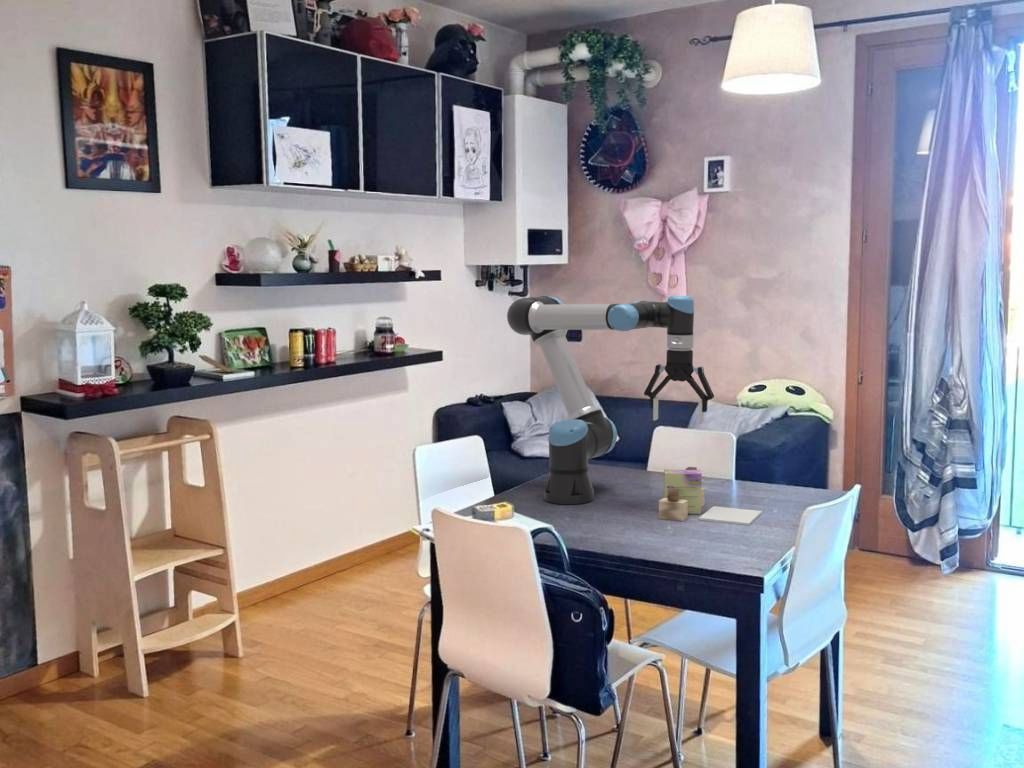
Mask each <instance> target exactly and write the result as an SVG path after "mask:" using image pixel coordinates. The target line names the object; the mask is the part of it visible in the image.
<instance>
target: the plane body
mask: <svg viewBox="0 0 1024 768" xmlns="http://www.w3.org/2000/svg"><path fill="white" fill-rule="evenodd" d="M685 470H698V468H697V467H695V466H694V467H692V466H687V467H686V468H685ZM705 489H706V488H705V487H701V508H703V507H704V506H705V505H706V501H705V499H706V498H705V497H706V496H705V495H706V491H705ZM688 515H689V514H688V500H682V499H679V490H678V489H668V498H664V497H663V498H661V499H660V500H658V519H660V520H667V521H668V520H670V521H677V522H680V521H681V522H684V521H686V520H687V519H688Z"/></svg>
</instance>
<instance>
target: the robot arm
mask: <svg viewBox="0 0 1024 768" xmlns="http://www.w3.org/2000/svg"><path fill="white" fill-rule="evenodd" d="M506 318H507V324H508V325H509V328H510V329H512V331H513V332H515V333H516V334H519V335H522V336H523V335H524V336H530V337H531V340H532V341H533V344H534V345H536V346H539V347H540V349H541V351H542V354H543V357H544V359H545V361H546V364H547V366H548V368H549V371H550V373H551V376H552V378H553V382H554V383H555V385H556V389H557V390H558V392H559V395H560V397H561V400H562V403H563V405H564V407H565V410H566V412H567V415H568V418H567V419H565V420H559V421H556V422H554V423H552V424H551V426H550V427H549V429H548V431H549V432H548V438H547V440H548V453H549V454H548V461H549V463H548V465H549V466H548V467H549V475H548V478H547V482H546V484H545V488H544V491H543V492H544V493H543V498H544V501H545V502H548V503H551V504H556V505H579V504H586V503H590V502H593V500H594V499H595V490H594V488H593V484H592V481H591V478H590V474H589V460H590V459H594V458H598V457H599V458H600V457H602V456H604V455H606V454H607V453H608V454H609V452H611V451H612V450H613V448H615V445H616V442H617V439H618V432H617V428H616V425H615V424H614V422H613V421H612V420H611V419H609V418H608V417H605V416H604V414H603V411H602V409H601V408H599V407H597V406H595V405H594V402H593V399H592V397H591V395H590V392H589V390H588V388H587V385H586V382H585V380H584V377H583V376H582V374H581V373H582V372H581V371H580V369H579V366H578V363H577V361H576V358H575V355H574V354H573V352H572V349H571V347H570V344H569V342H568V339H567V337H566V335H567V332H568V331H571V330H572V331H574V330H575V331H577V330H578V331H580V330H582V331H583V330H585V331H591V330H592V331H593V330H594V331H606V330H609V331H613V330H614V331H619V332H628V331H631V330H639V329H648V328H659V329H660V328H661V329H662V328H664V329H666V332H667V333H666V347H667V348H668V349H667V350H666V363H665V365H662V364H661V363H660V364H659V363H658V364H656V365H655V369H654V373H653V375H652V377H651V379H650V380H649V382H648V384H647V387H646V388H645V390H644V391H643V395H644V396H647V397H649V401H650V402H649V407H650V409H653V410H652V421H657V420H658V419H659V397H658V396H657V395H658V394H659V393H660V392H661V391H662V390H663V388H665V386H666V385H667V384H668V383H669V382H670V381H673V382H677V381H679V382H681V383H682V382H687V384H689V385H690V386H691V387H692V389H693V390H694V392H695V393H696V394H697V395H698V397H699V398H700V399H701V400H699V403H698V406H699V408H698V424H700V425H701V424H704V422H705V421H704V419H705V418H704V416H705V413H707V412H708V403H709V402H708V401H710V400H712V399H714V397H715V394H714V393H713V390H712V388H711V386H710V384H709V382H708V379H707V377H706V375H705V371H704V369H705V368H704V366H703V365H702V366H701V365H700V366H698V367H697V366H696V367H695V366H694V365H693V364H694V363H693V361H694V360H693V359H694V350H693V348H694V320H695V319H694V318H695V302H694V298H693V297H692V296H691V295H669V296H668V298H667V301H665V302H664V301H647V300H640V301H639V300H635V301H633V302H632V303H631V302H630V303H589V304H588V303H574V304H573V303H571V304H570V303H569V304H565V303H564V302H562V301H561V300H560V299H559V298H556V296H549V295H540V296H533V297H531V296H530V297H520V298H519V299H517V300H514V301H513V302H512V303H511V305H510V306H509V308H508V310H507V313H506ZM664 371H665V373H666V376H665V377H664V379H663V380H662V381H661V382H660V383H659V384H658V385H657V387H655V389H654V390H653V388H654V386H655V384H656V382H657V381H658V379H659V377H660V375H661V373H663V372H664ZM694 372H695V374H696V375H697V376H698V378H699V380H700V383H701V386H702V387H703V389H702V388H701V386H700V385H699V384H698V383H697V381H695V378H694V377H693V376H692V374H693V373H694ZM652 390H653V391H652ZM703 390H704V391H705V392H704V391H703Z"/></svg>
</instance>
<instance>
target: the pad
mask: <svg viewBox="0 0 1024 768" xmlns="http://www.w3.org/2000/svg"><path fill="white" fill-rule="evenodd" d="M762 514H763V511H762V510H755V509H754V510H753V509H745V508H736V507H735V508H733V507H726V506H715V505H714V506H712V507H711V508H709V509H708V510H707V511H705V513H703V514H701V515H700V516H699V517H698V521H704V522H714V523H724V524H730V525H731V524H733V525H742V526H750V525H751V524H753V523H754V521H755V520H756V519H758V518H759V517H760V516H761V515H762Z"/></svg>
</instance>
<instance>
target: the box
mask: <svg viewBox="0 0 1024 768" xmlns="http://www.w3.org/2000/svg"><path fill="white" fill-rule="evenodd" d="M701 488H702V471H701V469H697V470H686V469H663V498H668V489H678V490H679V499H682V500H688V515H691V514H692V515H702V507H701Z"/></svg>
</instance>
